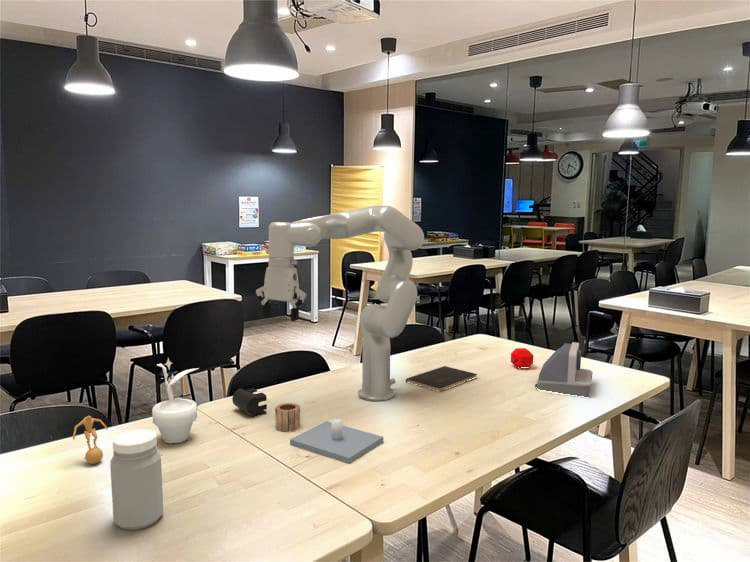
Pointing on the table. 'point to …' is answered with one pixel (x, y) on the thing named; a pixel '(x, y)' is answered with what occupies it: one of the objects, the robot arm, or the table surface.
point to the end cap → (250, 401)
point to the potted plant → (174, 412)
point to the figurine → (94, 453)
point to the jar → (136, 479)
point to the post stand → (337, 441)
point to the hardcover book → (441, 378)
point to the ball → (522, 357)
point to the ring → (287, 417)
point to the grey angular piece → (565, 372)
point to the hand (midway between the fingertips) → (280, 319)
